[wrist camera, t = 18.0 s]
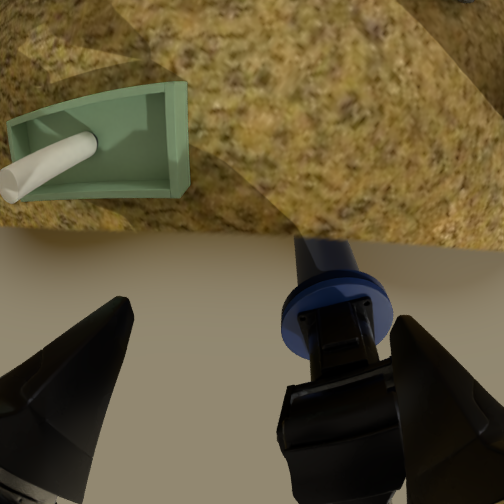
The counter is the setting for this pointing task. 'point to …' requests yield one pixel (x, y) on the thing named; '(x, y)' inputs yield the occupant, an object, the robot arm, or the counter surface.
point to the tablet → (466, 1)
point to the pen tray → (113, 143)
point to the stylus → (45, 165)
